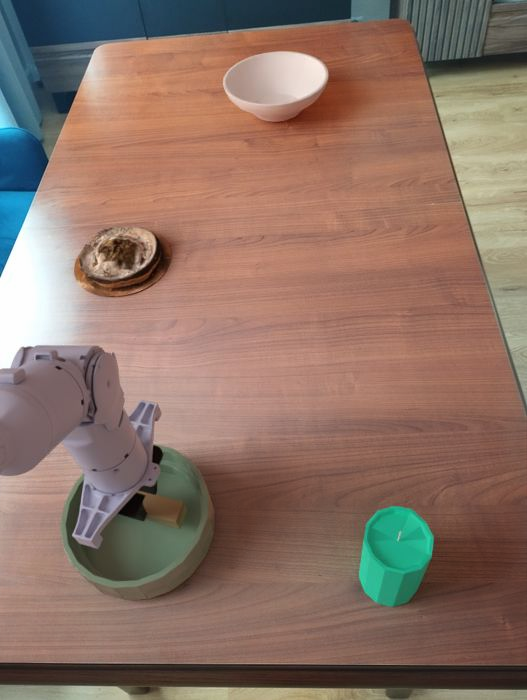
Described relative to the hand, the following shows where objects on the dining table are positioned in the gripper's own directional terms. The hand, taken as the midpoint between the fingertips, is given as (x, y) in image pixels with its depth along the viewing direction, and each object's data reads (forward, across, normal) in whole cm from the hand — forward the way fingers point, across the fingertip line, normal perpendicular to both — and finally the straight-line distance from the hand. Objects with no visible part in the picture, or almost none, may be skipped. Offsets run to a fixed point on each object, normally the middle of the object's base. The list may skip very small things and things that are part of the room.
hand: (142, 504), depth 62 cm
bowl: (+3, +82, +9) cm, 82 cm away
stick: (+1, 0, 0) cm, 1 cm away
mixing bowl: (+3, -1, 0) cm, 4 cm away
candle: (+4, +1, -26) cm, 26 cm away
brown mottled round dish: (+4, +37, +21) cm, 42 cm away
